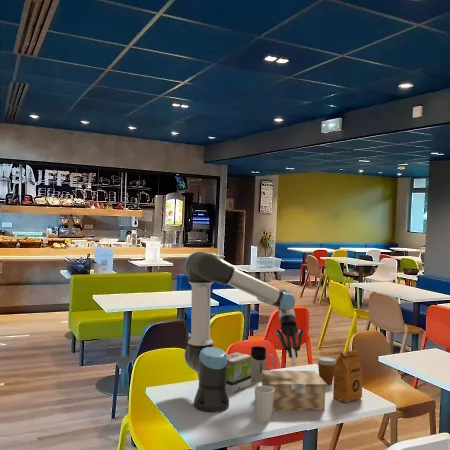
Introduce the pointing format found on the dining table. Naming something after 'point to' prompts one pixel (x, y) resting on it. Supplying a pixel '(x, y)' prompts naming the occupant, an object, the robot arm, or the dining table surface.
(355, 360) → the coffee package
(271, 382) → the box lid
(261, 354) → the glass holder
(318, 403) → the wooden box
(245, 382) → the tea box
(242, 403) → the dining table surface
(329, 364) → the disposable coffee cup
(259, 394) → the cup
